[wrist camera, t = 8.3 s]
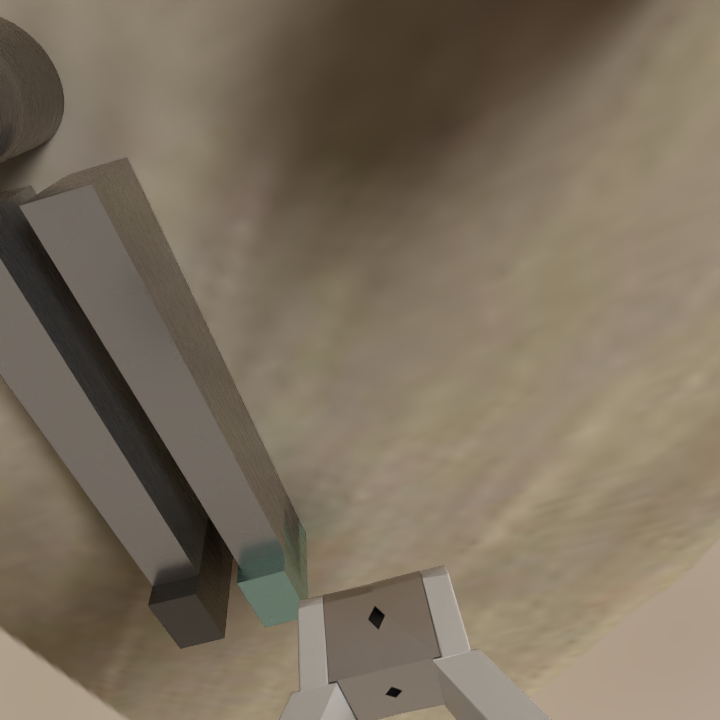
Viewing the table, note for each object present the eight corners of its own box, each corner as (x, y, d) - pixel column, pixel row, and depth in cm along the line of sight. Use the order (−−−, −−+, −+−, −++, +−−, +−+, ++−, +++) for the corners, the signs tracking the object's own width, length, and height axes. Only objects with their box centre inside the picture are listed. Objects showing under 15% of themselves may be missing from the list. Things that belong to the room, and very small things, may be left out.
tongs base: (-143, 17, 13) (-484, 2, 7) (28, -28, 13) (-177, -79, 7) (195, 562, 24) (167, 721, 19) (285, 540, 24) (285, 692, 18)
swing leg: (66, 175, 15) (3, 215, 12) (127, 157, 15) (80, 193, 12) (268, 544, 24) (265, 627, 21) (305, 534, 24) (308, 616, 21)
